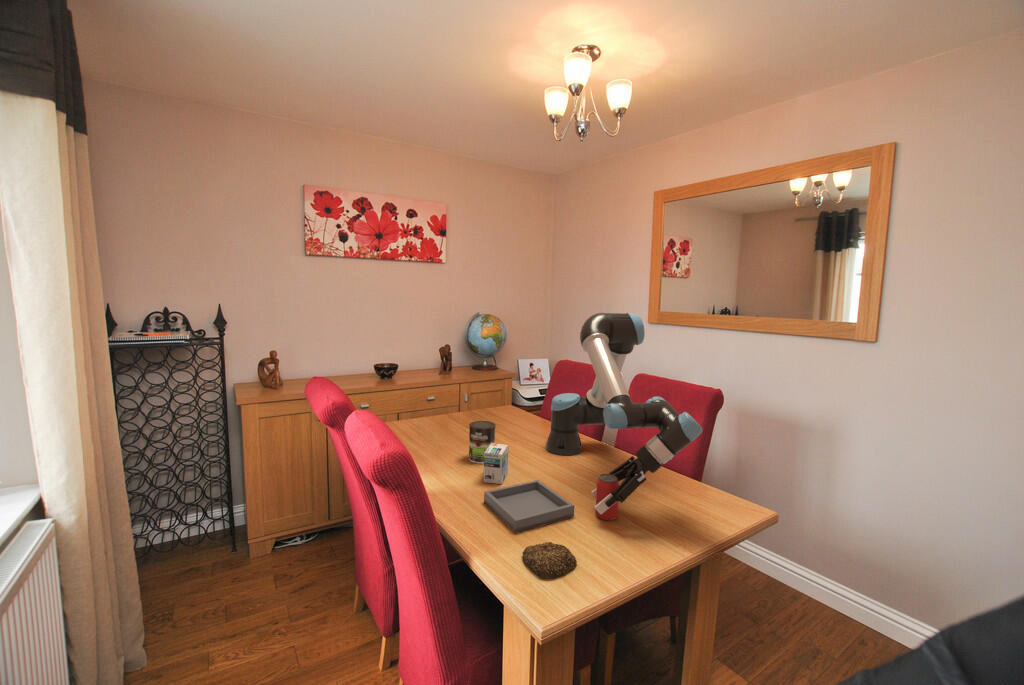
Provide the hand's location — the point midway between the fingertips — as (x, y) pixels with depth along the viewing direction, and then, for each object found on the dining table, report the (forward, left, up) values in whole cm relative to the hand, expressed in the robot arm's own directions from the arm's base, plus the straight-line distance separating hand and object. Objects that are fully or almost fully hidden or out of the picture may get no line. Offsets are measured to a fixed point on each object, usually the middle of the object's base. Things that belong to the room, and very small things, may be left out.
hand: (596, 502), depth 134 cm
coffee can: (+11, -55, -4) cm, 56 cm away
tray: (+16, -12, -4) cm, 21 cm away
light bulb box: (+14, -37, -4) cm, 40 cm away
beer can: (-3, +2, -4) cm, 5 cm away
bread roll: (+25, +13, -4) cm, 29 cm away
